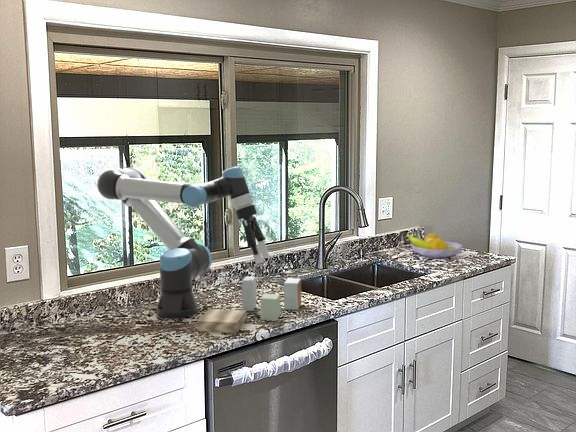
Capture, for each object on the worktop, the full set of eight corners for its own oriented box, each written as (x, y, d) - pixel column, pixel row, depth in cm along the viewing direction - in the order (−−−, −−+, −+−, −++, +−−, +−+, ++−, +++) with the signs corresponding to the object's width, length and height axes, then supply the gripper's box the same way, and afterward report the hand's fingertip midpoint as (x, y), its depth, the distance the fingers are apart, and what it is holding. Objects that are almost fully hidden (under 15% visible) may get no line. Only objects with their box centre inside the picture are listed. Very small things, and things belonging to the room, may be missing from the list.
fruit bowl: (467, 253, 330) (468, 232, 328) (452, 263, 307) (452, 241, 306) (417, 248, 345) (418, 228, 343) (399, 257, 322) (400, 236, 320)
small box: (297, 310, 231) (297, 283, 230) (283, 309, 232) (283, 282, 231) (301, 304, 239) (301, 278, 237) (287, 303, 240) (287, 277, 238)
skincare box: (245, 306, 237) (245, 276, 235) (257, 306, 236) (256, 276, 234) (241, 311, 231) (240, 279, 229) (252, 311, 230) (252, 280, 228)
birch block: (197, 332, 209) (197, 320, 209) (209, 319, 223) (209, 308, 222) (237, 334, 207) (236, 322, 206) (246, 321, 220) (246, 310, 220)
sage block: (260, 319, 221) (260, 298, 219) (264, 314, 226) (263, 293, 225) (277, 320, 220) (276, 299, 218) (280, 315, 225) (279, 294, 224)
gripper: (246, 205, 216) (266, 261, 217) (259, 201, 241) (277, 252, 242) (227, 212, 217) (247, 268, 218) (242, 207, 242) (259, 258, 243)
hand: (263, 260), depth 230 cm, fingers open, 13 cm apart
